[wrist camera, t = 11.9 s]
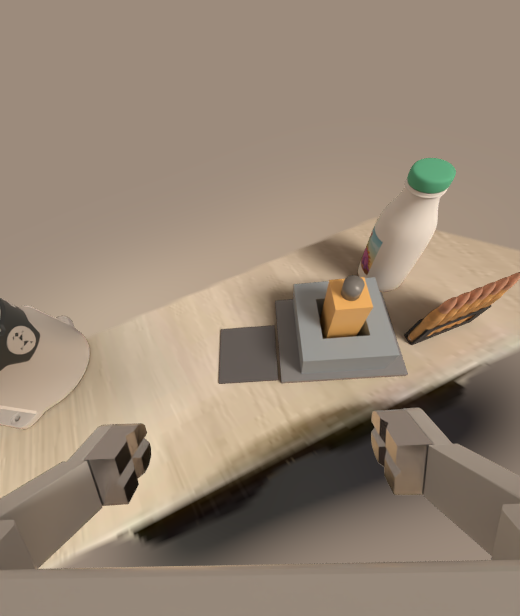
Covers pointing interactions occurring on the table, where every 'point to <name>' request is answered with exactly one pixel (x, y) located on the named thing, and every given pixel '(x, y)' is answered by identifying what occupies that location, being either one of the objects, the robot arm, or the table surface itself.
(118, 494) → the robot arm
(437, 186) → the milk bottle
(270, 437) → the table surface
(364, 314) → the plug
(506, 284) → the ammunition clip
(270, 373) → the mat
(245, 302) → the table surface
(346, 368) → the housing
